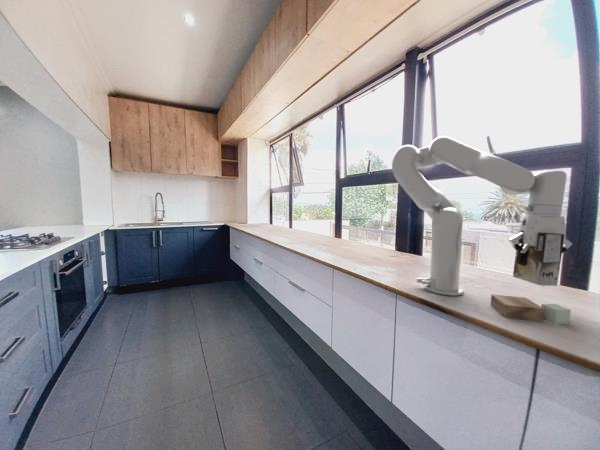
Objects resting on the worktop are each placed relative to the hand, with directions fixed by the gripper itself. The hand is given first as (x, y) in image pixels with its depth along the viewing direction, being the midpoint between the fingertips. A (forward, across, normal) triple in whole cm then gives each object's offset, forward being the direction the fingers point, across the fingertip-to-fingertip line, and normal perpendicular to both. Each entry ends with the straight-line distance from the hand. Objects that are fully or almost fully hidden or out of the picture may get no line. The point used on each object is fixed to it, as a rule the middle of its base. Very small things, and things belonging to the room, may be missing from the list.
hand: (536, 265), depth 78 cm
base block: (+14, -9, -8) cm, 18 cm away
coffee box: (+5, 0, 0) cm, 5 cm away
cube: (+13, -1, -11) cm, 17 cm away
